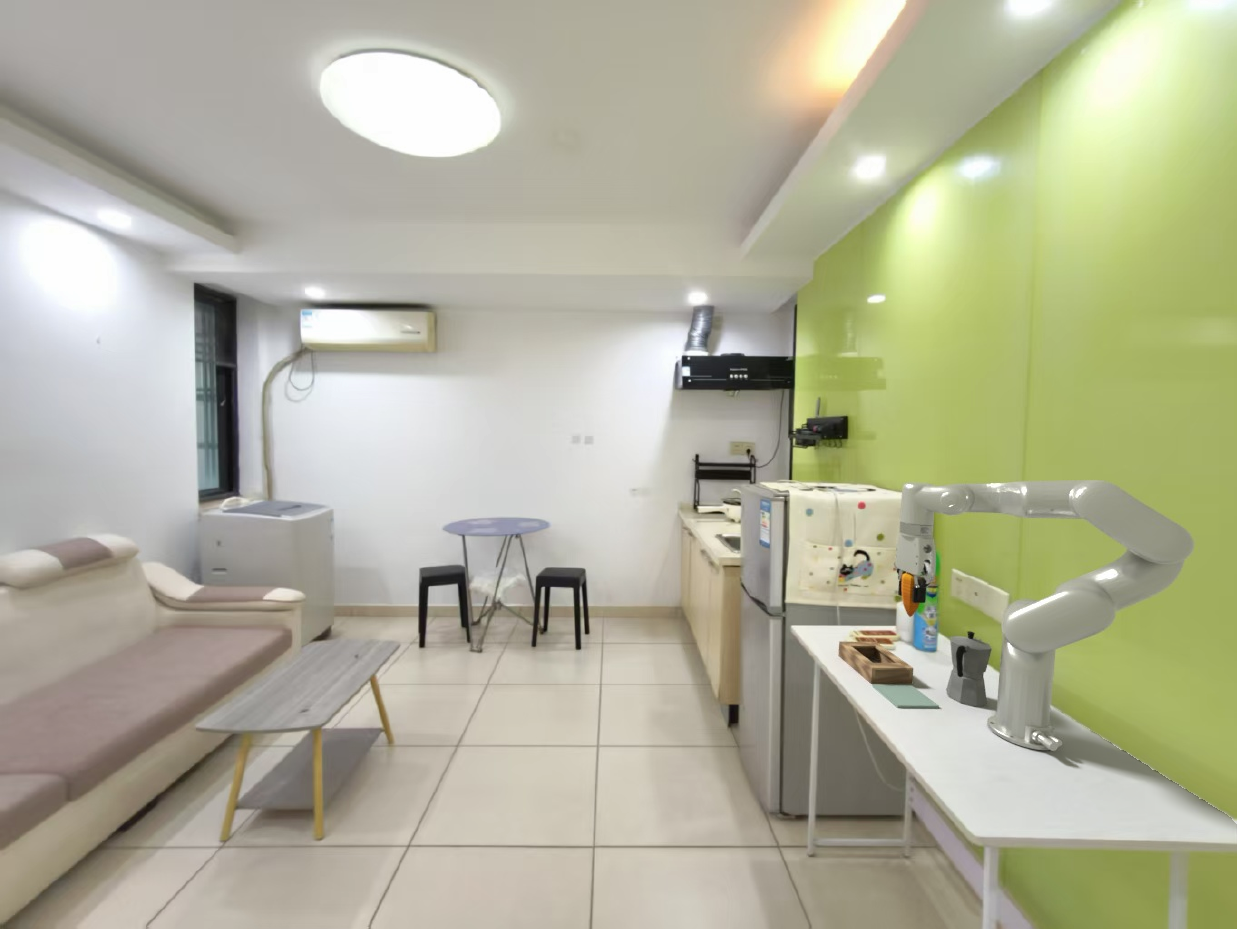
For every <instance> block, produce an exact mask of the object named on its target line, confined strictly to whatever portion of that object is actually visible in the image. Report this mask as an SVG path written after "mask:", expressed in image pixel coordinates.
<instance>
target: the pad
mask: <svg viewBox="0 0 1237 929" xmlns="http://www.w3.org/2000/svg"><path fill="white" fill-rule="evenodd" d="M871 685H872V688H874V690H876V691H878V692H879V694H880V695H882V697H884V698H886V700H888V701H889V702H890V703H891V704H892V705H893V706H894V707H896V708H898V709H903V708H904V709H939V708H940V705H938V704H937V703H936V702H935V701H934V700H932V699H931V698H929V697H928V696H927V695H925V694H924V693H923V692H921V691H920V690H919V689H917V687H915V686H914V685H913V684H871Z"/></svg>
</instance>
